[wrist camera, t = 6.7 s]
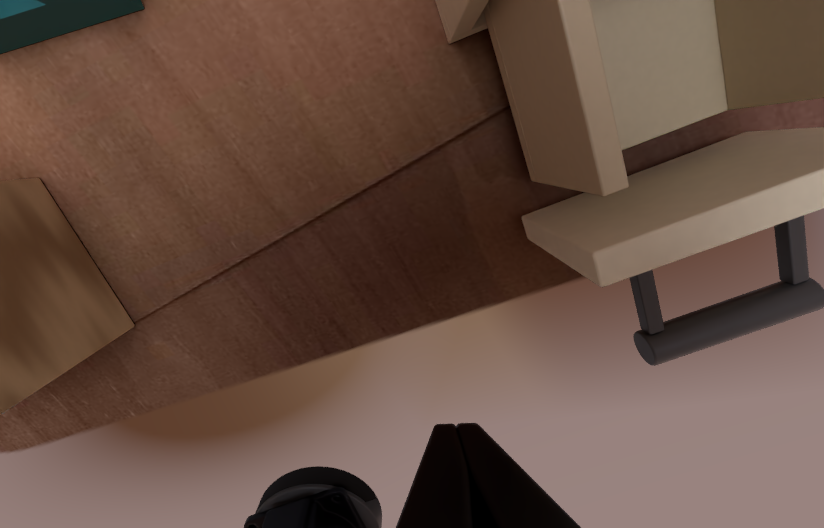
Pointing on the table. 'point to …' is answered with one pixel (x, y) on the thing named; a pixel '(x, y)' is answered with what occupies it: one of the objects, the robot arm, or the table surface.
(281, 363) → the table surface
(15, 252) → the stand
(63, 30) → the bracket
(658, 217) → the drawer
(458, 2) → the cabinet
